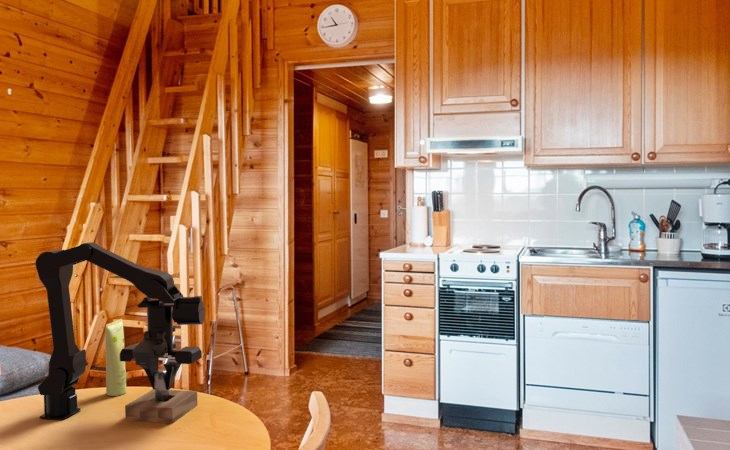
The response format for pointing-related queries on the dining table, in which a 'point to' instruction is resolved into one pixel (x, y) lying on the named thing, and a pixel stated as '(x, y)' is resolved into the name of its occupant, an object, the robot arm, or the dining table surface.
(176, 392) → the bore block
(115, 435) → the dining table surface
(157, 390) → the pin
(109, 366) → the tube
